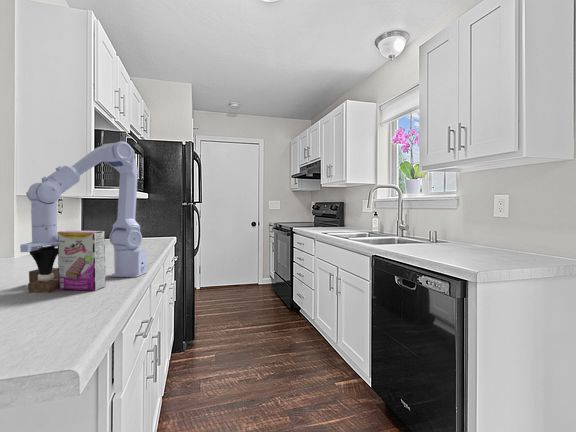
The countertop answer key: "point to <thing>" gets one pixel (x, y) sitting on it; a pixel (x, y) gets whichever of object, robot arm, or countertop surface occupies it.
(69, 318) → the countertop surface
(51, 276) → the cream knob
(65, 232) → the candy bar box
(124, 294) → the countertop surface
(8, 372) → the countertop surface
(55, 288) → the low socket
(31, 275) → the tall socket
